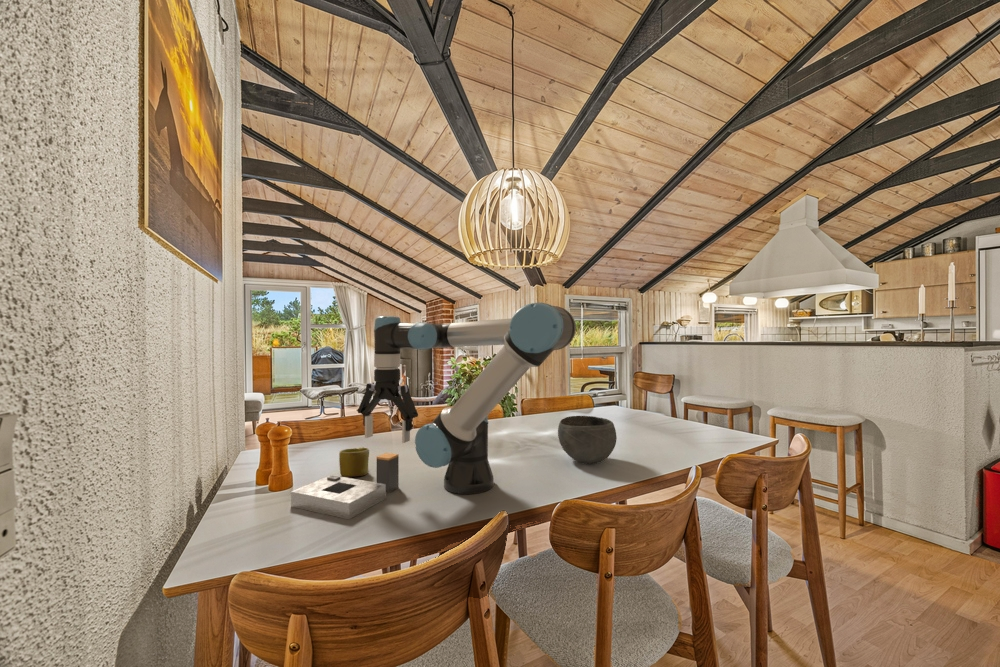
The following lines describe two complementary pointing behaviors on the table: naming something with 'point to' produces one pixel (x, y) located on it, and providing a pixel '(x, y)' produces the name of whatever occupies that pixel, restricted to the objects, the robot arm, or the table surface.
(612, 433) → the bowl
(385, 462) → the plug
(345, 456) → the mug
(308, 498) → the socket plate
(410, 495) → the table surface
